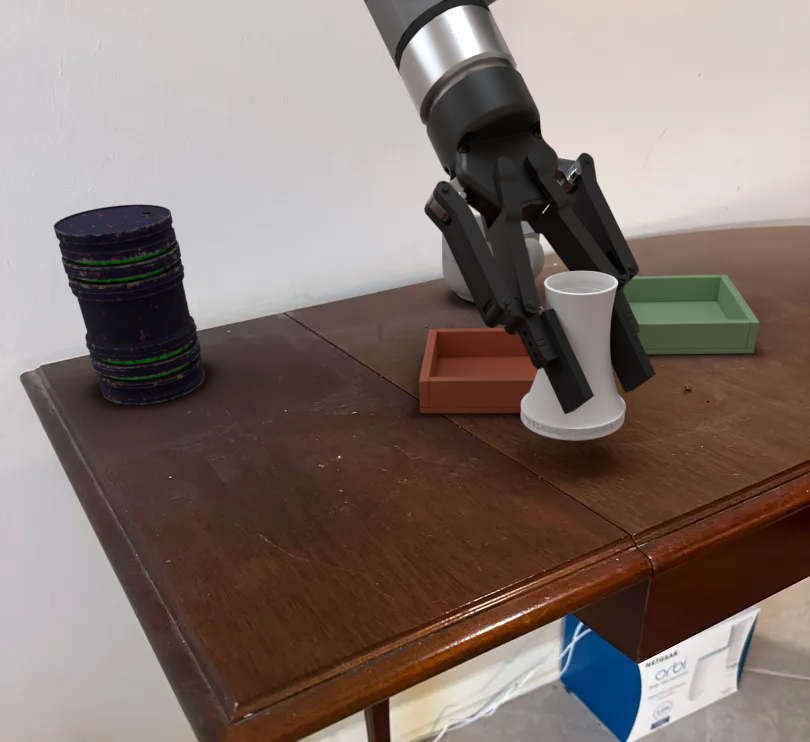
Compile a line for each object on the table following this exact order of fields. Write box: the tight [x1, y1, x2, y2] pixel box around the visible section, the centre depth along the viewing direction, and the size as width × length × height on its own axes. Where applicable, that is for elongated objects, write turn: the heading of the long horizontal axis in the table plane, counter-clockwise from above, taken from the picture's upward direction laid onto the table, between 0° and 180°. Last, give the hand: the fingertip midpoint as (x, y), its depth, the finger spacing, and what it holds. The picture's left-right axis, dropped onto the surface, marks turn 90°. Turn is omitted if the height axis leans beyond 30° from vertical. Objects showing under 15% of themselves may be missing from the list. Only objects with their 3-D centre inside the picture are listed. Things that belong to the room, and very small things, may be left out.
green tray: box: [623, 274, 761, 355], centre depth 81 cm, size 15×14×3 cm
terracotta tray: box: [418, 327, 538, 414], centre depth 72 cm, size 12×12×3 cm
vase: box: [520, 271, 627, 441], centre depth 57 cm, size 8×8×10 cm
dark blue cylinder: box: [53, 204, 206, 406], centre depth 73 cm, size 10×10×15 cm
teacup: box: [441, 214, 545, 303], centre depth 88 cm, size 14×11×8 cm
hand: (610, 393), depth 55 cm, fingers closed on vase, 5 cm apart
